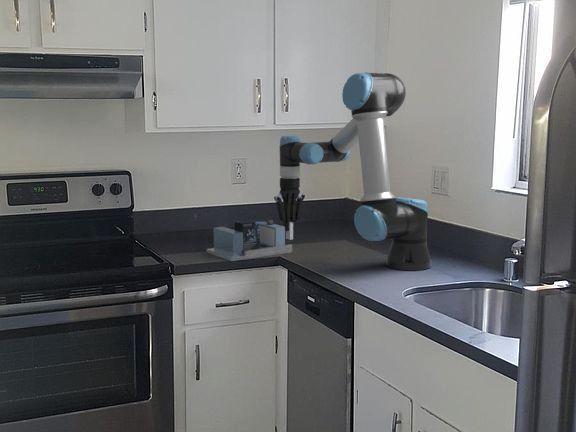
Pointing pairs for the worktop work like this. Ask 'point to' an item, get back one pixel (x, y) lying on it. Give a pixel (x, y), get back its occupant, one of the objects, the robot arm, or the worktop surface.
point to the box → (249, 233)
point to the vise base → (254, 252)
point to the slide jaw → (271, 234)
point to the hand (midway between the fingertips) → (289, 238)
